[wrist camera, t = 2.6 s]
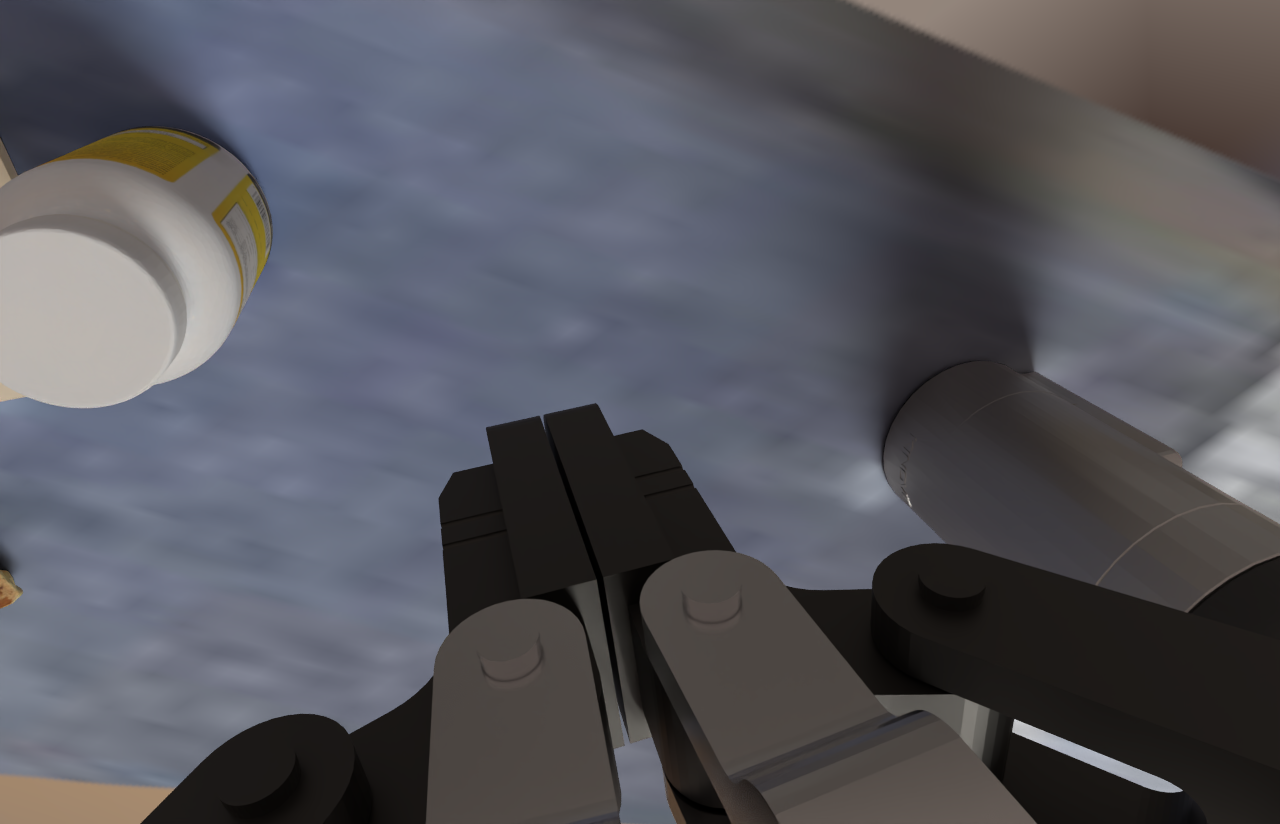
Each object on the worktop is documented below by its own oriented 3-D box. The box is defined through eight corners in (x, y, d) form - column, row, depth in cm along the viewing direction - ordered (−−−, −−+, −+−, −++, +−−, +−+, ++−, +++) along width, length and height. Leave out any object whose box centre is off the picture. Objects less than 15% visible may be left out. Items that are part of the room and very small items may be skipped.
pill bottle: (34, 164, 27) (-182, 251, 17) (212, 94, 28) (103, 139, 18) (152, 326, 30) (28, 479, 20) (310, 261, 31) (265, 379, 21)
